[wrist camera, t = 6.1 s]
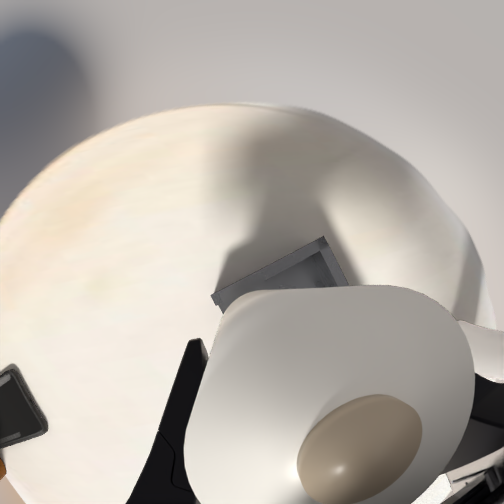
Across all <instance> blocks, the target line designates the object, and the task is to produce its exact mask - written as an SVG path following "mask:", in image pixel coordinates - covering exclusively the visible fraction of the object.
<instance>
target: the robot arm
mask: <svg viewBox="0 0 504 504" xmlns="http://www.w3.org/2000/svg"><path fill="white" fill-rule="evenodd" d="M208 359H209V358H208V354H207V351H206V348H205V346H204V344H203V341H202V339H201V338H197V339H191V340H189V342H188V344H187V347H186V349H185V352H184V355H183V358H182V361H181V363H180V366H179V369H178V372H177V375H176V378H175V381H174V384H173V387H172V389H171V392H170V395H169V398H168V401H167V404H166V407H165V410H164V413H163V416H162V419H161V422H160V425H159V428H158V430H159V431H158V432H157V434H156V437H155V440H154V443H153V446H152V449H151V452H150V454H149V457H148V459H147V461H146V463H145V466H144V468H143V470H142V472H141V474H140V477H139V479H138V481H137V483H136V485H135V487H134V489H133V491H132V493H131V495H130V497H129V499H128V501H127V502H126V504H201V503H200V502H199V500H198V499H197V497H196V496H195V494H194V492H193V490H192V488H191V485H190V483H189V480H188V477H187V473H186V469H185V462H184V443H185V434H186V429H187V426H188V422H189V419H190V416H191V412H192V409H193V406H194V403H195V400H196V397H197V393H198V390H199V387H200V384H201V381H202V378H203V375H204V371H205V368H206V365H207V362H208ZM444 473H446V475H447V478H448V480H449V482H450V487H451V489H452V492H453V494H454V495H453V496H451V497H449V498H448V499H447V500H445V501H444V502H442V503H441V504H504V383H496V382H492V381H490V380H488V379H486V378H484V377H482V376H480V375H479V374H477V373H475V391H474V399H473V405H472V410H471V414H470V417H469V421H468V424H467V427H466V429H465V432H464V434H463V437H462V439H461V441H460V443H459V445H458V447H457V449H456V451H455V453H454V454H453V456H452V458H451V459H450V461H449V462H448V464H447V465H446V467H445V468H444V469H443V471H442V472H441V473H440V475H441V474H444Z"/></svg>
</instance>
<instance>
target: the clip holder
mask: <svg viewBox="0 0 504 504" xmlns="http://www.w3.org/2000/svg"><path fill="white" fill-rule="evenodd" d="M344 286H349V285H348V283H347V280H346V278H345V276H344V274H343V272H342V270H341V268H340V266H339V264H338V263H337V261H336V259H335V257H334V255H333V253H332V251H331V249H330V247H329V245H328V243H327V241H326V239H325V238H324V236H323V237H321V238H319V239H317V240H315V241H313V242H312V243H310V244H308V245H306V246H304V247H302V248H300V249H298V250H297V251H295V252H293V253H291V254H289V255H287V256H285V257H283V258H281V259H280V260H278V261H276V262H274V263H272V264H270V265H268V266H266V267H264V268H262V269H260V270H259V271H257V272H255V273H253V274H251V275H249V276H247V277H245V278H243V279H241V280H239V281H237V282H235V283H233V284H231V285H230V286H228V287H226V288H224V289H222V290H220V291H218V292H216V293H214V294H212V295H211V297H212V299H213V301H214V303H215V305H216V306H217V305H219V307H220V309H221V311H222V313H223V314H224V312H225V311H226V309H227V308H228V307H229V306H230V304H231V303H232V302H234V301H235V300H236V299H237V298H239V297H240V296H242V295H244V294H246V293H249V292H253V291H257V290H280V289H305V288H326V287H344Z"/></svg>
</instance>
